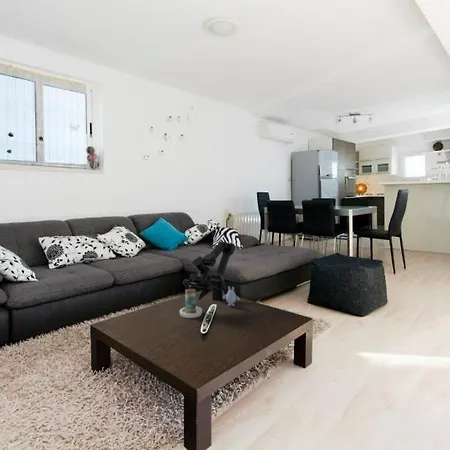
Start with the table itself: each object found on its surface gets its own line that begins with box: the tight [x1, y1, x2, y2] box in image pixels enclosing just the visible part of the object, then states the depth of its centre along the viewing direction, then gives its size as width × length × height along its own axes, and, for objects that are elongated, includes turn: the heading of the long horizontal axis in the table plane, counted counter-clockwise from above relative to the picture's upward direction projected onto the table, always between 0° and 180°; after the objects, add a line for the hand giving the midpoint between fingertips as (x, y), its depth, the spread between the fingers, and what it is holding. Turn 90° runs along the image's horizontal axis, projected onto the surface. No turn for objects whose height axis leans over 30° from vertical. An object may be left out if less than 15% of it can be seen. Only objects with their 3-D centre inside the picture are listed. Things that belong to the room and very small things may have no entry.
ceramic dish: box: [179, 306, 203, 319], centre depth 198 cm, size 12×12×2 cm
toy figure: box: [223, 285, 241, 307], centre depth 209 cm, size 11×6×12 cm, turn 72°
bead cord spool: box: [184, 288, 197, 314], centre depth 197 cm, size 6×6×13 cm
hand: (192, 298), depth 198 cm, fingers open, 9 cm apart
